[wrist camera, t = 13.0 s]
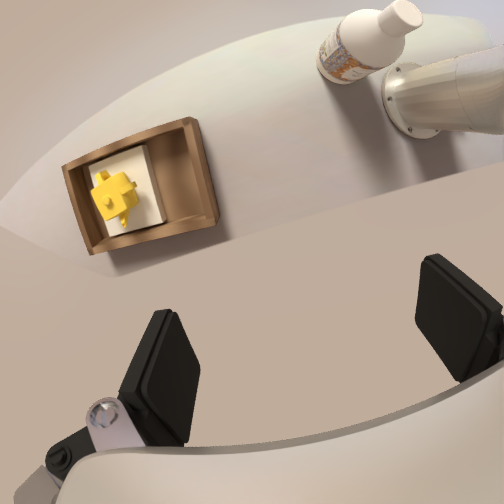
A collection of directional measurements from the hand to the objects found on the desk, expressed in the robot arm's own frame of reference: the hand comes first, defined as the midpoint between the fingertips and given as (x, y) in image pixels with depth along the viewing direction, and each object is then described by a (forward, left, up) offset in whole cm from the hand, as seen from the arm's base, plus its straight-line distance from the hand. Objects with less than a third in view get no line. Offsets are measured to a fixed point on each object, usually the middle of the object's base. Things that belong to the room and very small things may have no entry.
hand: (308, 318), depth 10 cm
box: (+17, -4, -30) cm, 35 cm away
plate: (+19, -4, -30) cm, 36 cm away
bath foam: (-14, -16, -31) cm, 37 cm away
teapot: (+18, -4, -28) cm, 33 cm away
